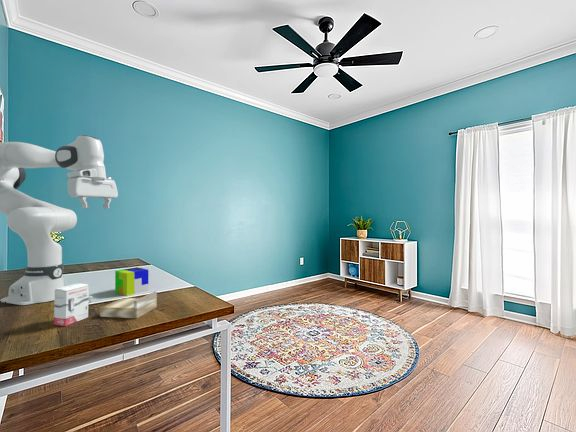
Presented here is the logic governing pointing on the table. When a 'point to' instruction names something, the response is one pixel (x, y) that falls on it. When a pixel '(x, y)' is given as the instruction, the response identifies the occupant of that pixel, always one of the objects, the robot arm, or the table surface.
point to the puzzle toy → (131, 281)
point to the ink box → (71, 304)
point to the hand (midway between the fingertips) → (96, 208)
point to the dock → (130, 307)
